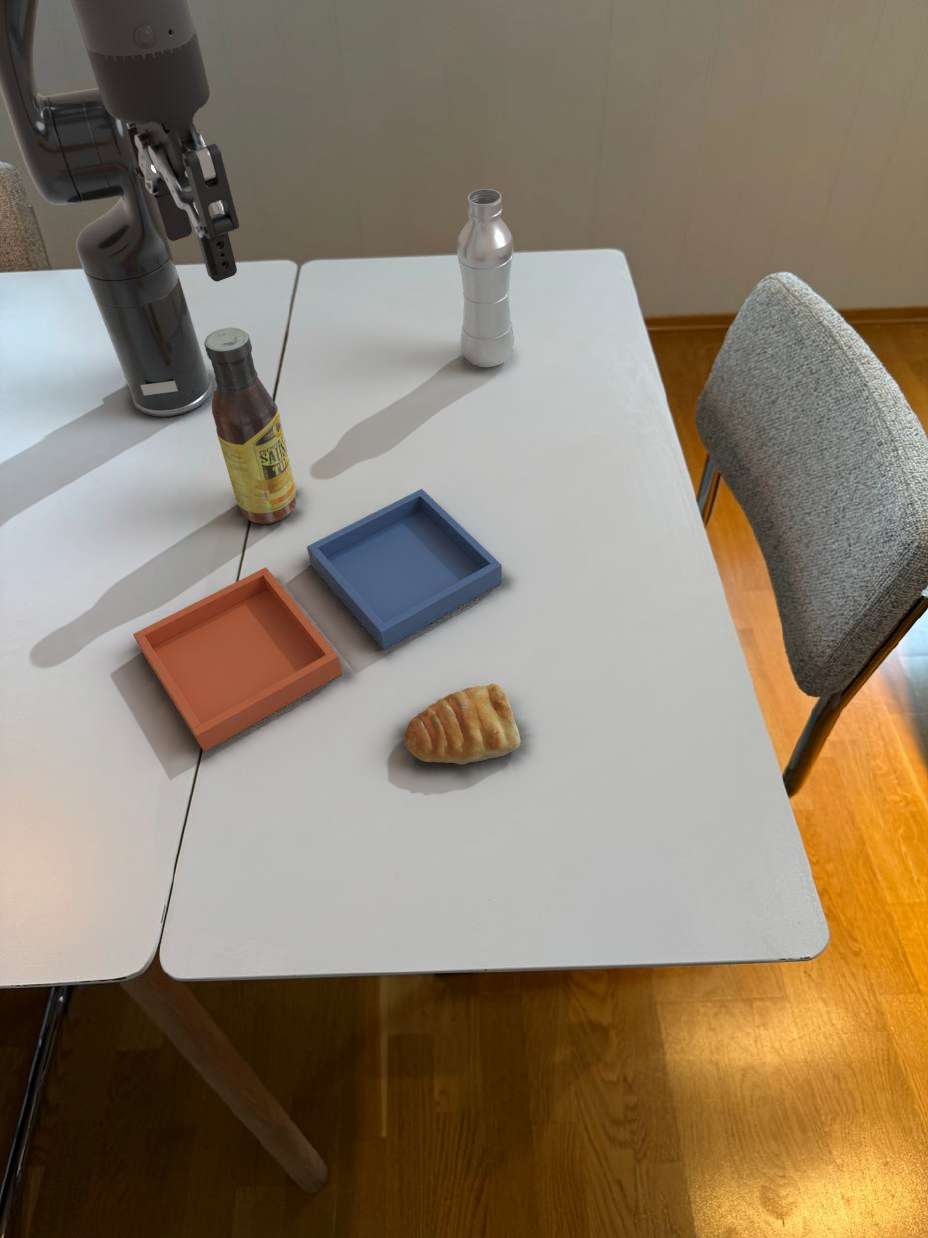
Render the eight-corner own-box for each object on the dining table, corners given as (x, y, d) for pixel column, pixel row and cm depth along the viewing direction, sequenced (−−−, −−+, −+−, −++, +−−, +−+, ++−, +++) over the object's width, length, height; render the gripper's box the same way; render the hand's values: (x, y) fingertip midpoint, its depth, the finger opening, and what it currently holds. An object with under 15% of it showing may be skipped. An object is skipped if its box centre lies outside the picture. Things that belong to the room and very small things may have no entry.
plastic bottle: (523, 352, 111) (526, 189, 96) (495, 380, 108) (494, 216, 93) (479, 337, 114) (475, 177, 99) (450, 365, 110) (441, 202, 95)
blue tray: (310, 564, 89) (306, 546, 87) (423, 506, 94) (421, 488, 92) (383, 650, 82) (380, 632, 80) (502, 582, 87) (502, 564, 85)
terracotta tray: (141, 651, 83) (132, 633, 81) (271, 584, 88) (266, 566, 86) (204, 752, 76) (196, 735, 74) (342, 673, 81) (338, 656, 79)
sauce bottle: (287, 530, 93) (245, 365, 77) (231, 523, 94) (177, 359, 78) (307, 488, 97) (270, 323, 82) (252, 482, 98) (206, 318, 83)
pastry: (418, 786, 73) (414, 761, 70) (396, 721, 77) (391, 695, 74) (526, 752, 75) (527, 727, 72) (499, 690, 79) (498, 664, 76)
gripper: (234, 44, 59) (282, 275, 71) (149, -6, 67) (205, 210, 79) (127, 73, 56) (195, 308, 69) (50, 17, 64) (125, 237, 76)
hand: (200, 255), depth 74 cm, fingers open, 8 cm apart
